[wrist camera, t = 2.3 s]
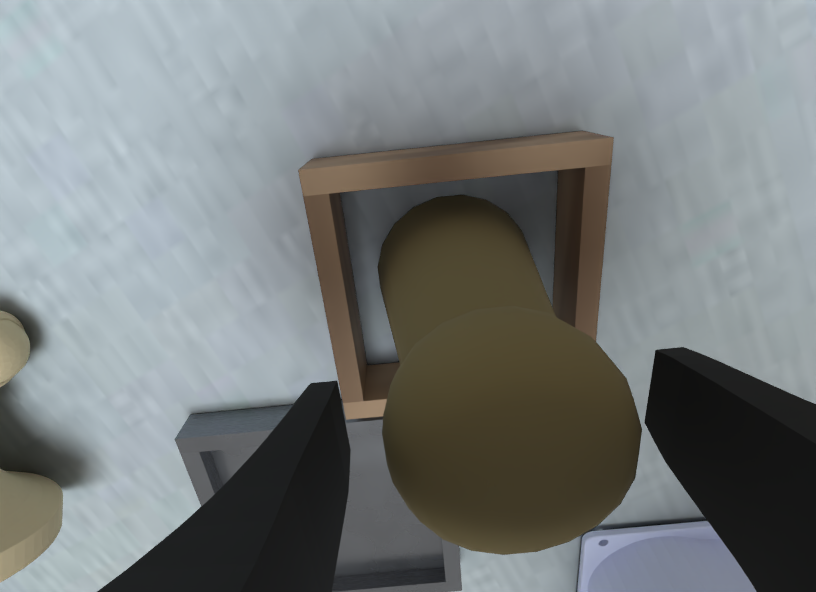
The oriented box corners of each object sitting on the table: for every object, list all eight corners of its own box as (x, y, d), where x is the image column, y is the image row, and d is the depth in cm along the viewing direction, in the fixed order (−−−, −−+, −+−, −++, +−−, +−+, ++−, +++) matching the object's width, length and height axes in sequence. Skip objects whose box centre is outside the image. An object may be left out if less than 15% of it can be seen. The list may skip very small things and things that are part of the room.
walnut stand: (582, 130, 16) (613, 137, 14) (568, 361, 20) (591, 396, 18) (312, 158, 16) (298, 170, 14) (351, 382, 20) (346, 419, 18)
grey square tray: (445, 390, 20) (449, 413, 19) (458, 561, 25) (462, 590, 24) (190, 414, 21) (174, 439, 19) (251, 579, 25) (242, 609, 24)
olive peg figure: (375, 334, 19) (353, 602, 9) (380, 190, 17) (358, 340, 7) (517, 339, 19) (646, 604, 9) (542, 198, 17) (755, 355, 7)
